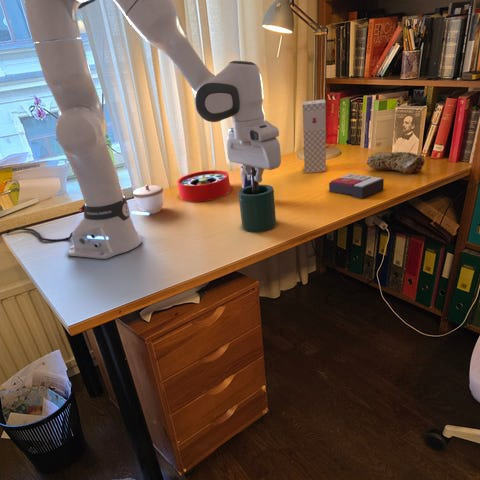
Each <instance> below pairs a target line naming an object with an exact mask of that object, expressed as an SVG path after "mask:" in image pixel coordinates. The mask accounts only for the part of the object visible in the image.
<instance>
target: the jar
mask: <svg viewBox="0 0 480 480" xmlns="http://www.w3.org/2000/svg"><path fill="white" fill-rule="evenodd" d="M259 193H260V194H254V195H253V191H252V186H247V187H244V188H242V187H241V188H240V189H239V190H238V191H237V194H238V202H239V203H238V204H239V211H240V219H241V226H242V229H243V231H245V232H249V233H263V232H266V231H269V230H272V229H274V228H275V227H276V225H277V216H276V202H275V201H276V200H275V190H274V187H273V186H272V185H269V184H259Z"/></svg>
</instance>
